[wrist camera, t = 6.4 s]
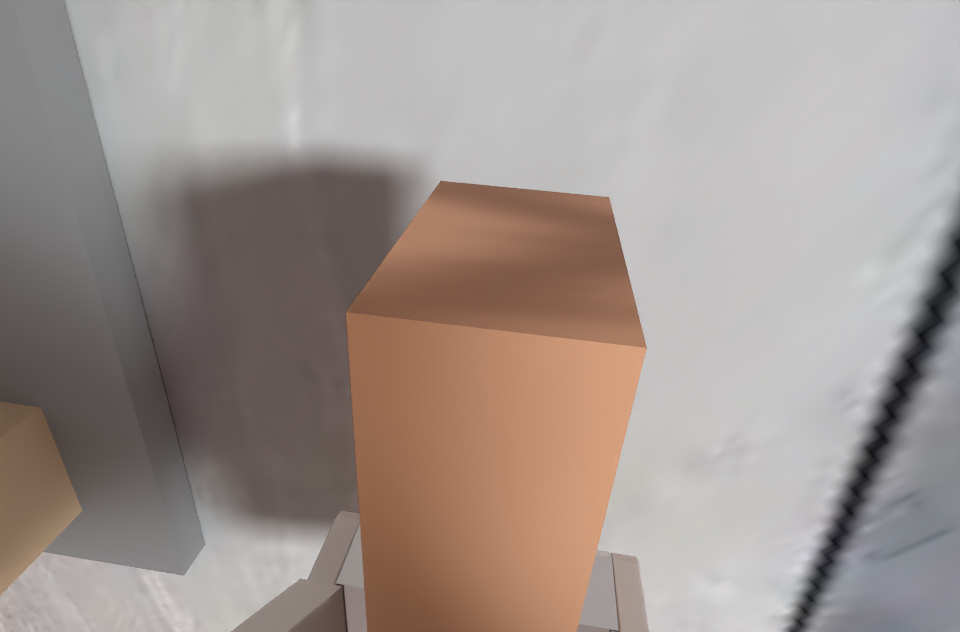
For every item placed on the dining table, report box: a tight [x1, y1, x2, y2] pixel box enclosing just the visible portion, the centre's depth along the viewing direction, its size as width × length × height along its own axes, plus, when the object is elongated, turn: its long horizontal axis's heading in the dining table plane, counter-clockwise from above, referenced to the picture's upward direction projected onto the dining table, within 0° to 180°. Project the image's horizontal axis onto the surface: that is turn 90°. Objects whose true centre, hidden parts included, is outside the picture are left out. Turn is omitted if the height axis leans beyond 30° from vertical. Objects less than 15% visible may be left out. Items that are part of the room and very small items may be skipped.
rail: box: [346, 181, 647, 632], centre depth 11 cm, size 3×14×5 cm, turn 176°
